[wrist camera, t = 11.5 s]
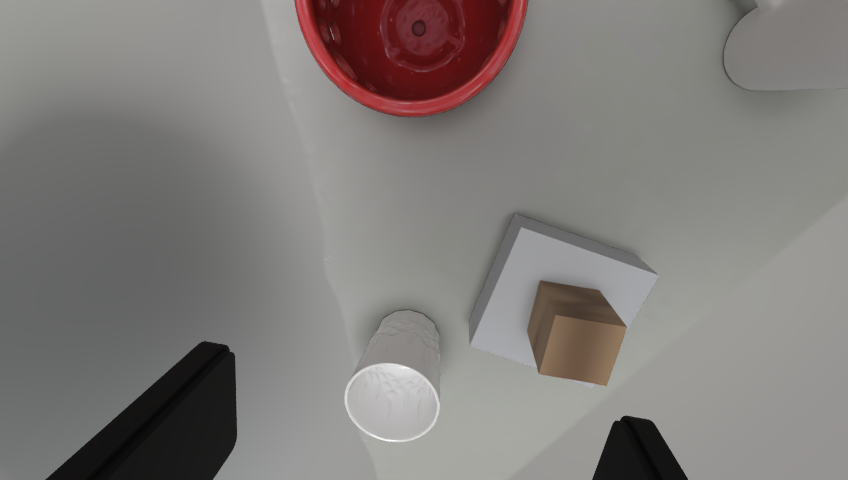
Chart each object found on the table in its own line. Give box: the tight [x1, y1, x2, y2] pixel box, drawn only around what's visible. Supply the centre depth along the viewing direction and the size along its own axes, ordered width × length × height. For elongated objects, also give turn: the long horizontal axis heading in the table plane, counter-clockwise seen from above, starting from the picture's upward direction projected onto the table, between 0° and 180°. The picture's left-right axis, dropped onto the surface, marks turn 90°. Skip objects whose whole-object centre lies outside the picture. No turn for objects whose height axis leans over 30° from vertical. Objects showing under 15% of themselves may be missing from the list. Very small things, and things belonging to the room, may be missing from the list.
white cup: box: [345, 310, 441, 442], centre depth 37 cm, size 8×8×10 cm
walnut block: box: [527, 280, 627, 386], centre depth 31 cm, size 5×5×6 cm
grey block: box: [469, 214, 659, 388], centre depth 37 cm, size 12×12×5 cm
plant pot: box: [295, 0, 528, 117], centre depth 27 cm, size 13×13×12 cm
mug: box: [724, 0, 848, 91], centre depth 25 cm, size 10×7×12 cm, turn 44°
